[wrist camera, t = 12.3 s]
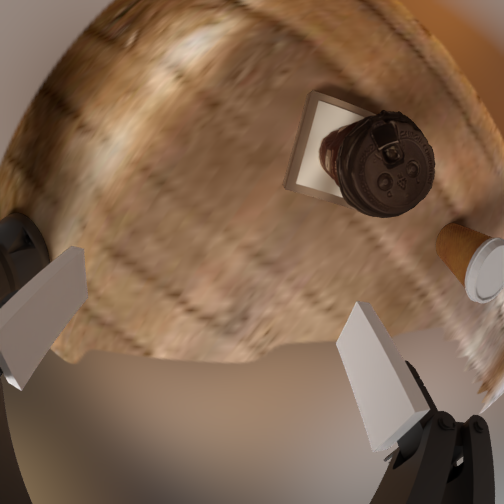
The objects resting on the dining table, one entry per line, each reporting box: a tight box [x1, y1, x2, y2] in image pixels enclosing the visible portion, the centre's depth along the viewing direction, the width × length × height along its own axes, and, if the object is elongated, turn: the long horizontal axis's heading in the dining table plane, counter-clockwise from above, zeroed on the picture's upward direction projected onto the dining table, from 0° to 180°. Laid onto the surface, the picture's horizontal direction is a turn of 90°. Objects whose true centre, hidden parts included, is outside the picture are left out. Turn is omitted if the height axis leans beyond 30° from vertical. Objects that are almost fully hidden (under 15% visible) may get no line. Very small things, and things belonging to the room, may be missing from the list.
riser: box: [283, 90, 376, 210], centre depth 30 cm, size 12×12×3 cm
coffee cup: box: [318, 110, 435, 218], centre depth 22 cm, size 9×8×13 cm
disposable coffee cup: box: [436, 223, 504, 303], centre depth 30 cm, size 10×10×12 cm
